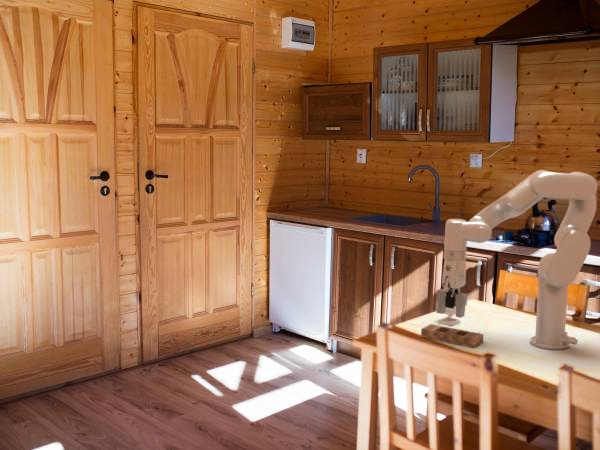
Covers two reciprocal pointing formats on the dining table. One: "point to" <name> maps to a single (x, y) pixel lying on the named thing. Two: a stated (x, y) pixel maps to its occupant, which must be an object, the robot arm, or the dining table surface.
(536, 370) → the dining table surface
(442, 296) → the grey rectangular block
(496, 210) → the robot arm
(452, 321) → the security camera
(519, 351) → the dining table surface
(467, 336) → the wooden frame
